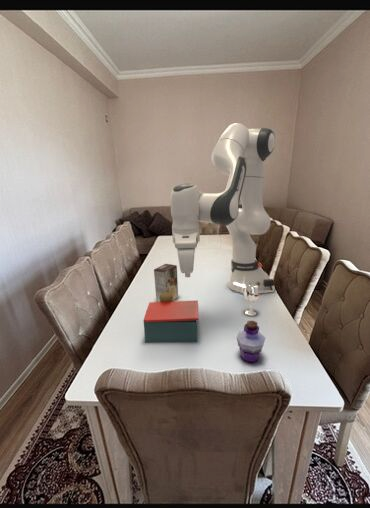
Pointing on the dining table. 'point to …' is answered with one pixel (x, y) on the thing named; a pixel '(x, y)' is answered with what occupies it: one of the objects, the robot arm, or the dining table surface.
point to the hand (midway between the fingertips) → (187, 275)
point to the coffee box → (166, 280)
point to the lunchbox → (171, 331)
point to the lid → (172, 311)
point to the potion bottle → (250, 342)
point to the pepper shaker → (166, 297)
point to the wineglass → (251, 296)
